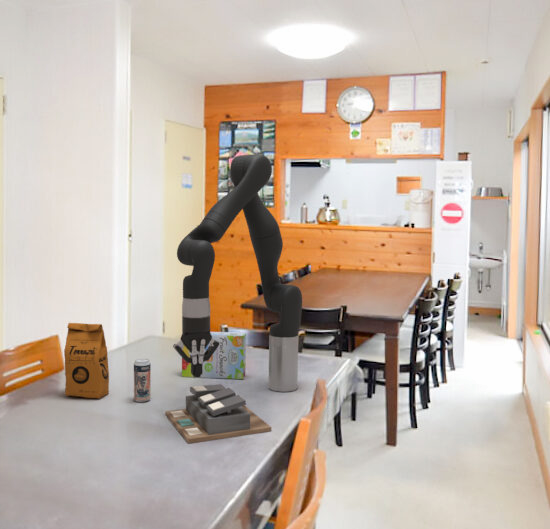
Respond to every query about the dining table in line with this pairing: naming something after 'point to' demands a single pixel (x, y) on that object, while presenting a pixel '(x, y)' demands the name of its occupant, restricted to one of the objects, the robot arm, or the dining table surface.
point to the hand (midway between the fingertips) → (196, 376)
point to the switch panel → (205, 437)
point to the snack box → (222, 357)
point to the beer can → (142, 380)
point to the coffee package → (86, 361)
